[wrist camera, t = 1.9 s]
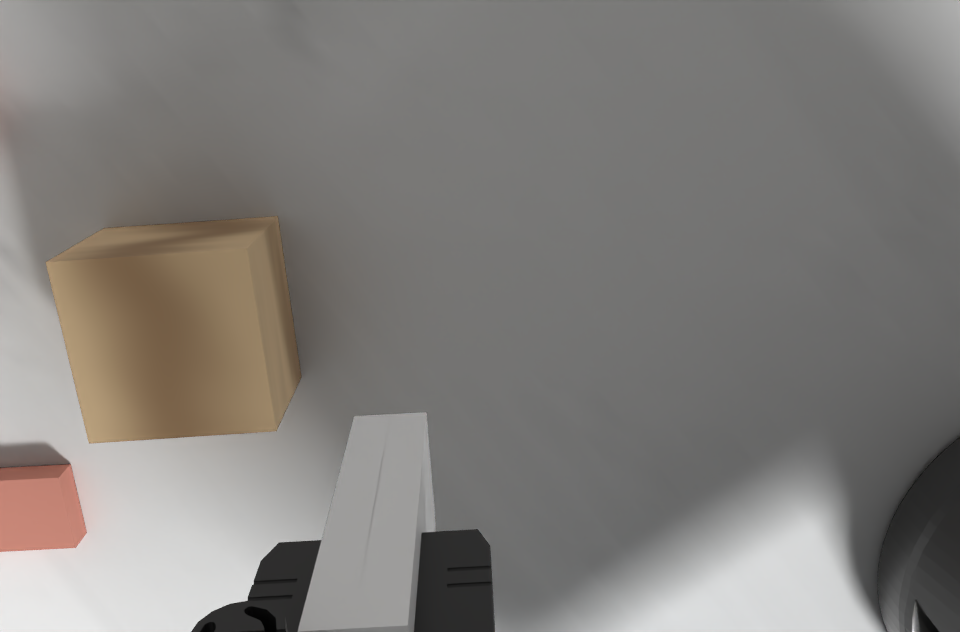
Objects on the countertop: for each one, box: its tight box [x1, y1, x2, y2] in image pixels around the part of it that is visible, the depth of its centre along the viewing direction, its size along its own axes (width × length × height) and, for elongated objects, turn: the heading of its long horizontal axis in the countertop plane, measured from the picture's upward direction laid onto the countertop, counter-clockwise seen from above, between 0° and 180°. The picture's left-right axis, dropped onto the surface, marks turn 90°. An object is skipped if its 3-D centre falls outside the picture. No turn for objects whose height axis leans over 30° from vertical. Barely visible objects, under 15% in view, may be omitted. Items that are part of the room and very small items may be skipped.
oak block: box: [46, 216, 301, 443], centre depth 29 cm, size 6×6×4 cm
